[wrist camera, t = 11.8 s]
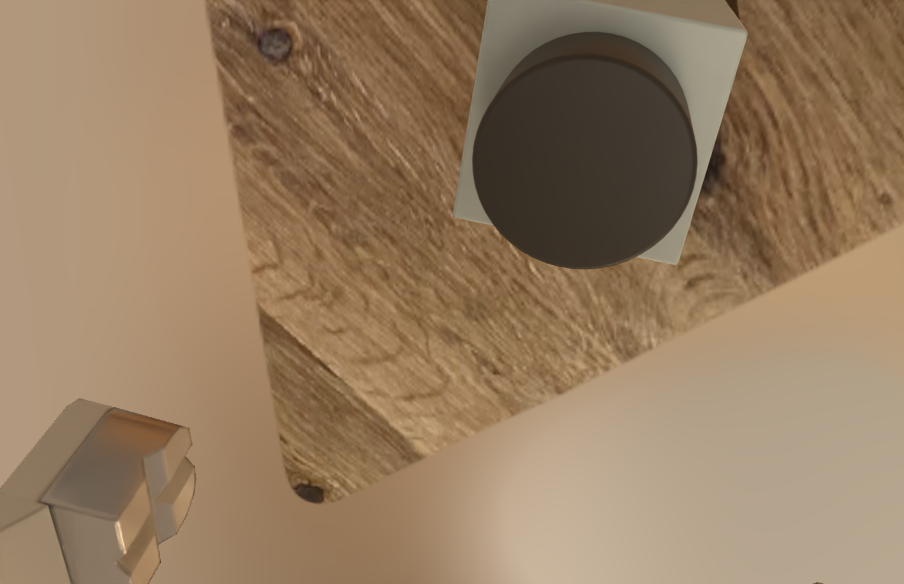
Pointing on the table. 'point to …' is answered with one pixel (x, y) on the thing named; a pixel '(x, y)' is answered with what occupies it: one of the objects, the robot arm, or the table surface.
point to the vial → (596, 124)
